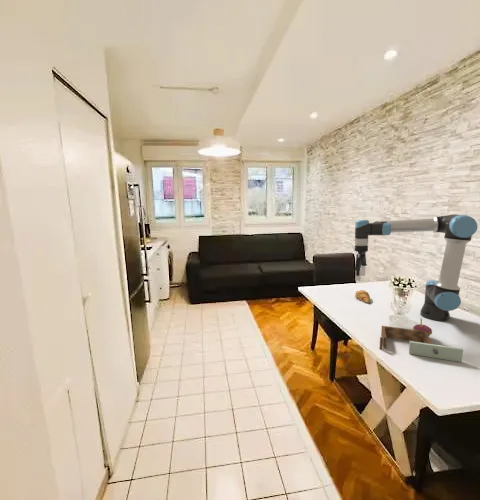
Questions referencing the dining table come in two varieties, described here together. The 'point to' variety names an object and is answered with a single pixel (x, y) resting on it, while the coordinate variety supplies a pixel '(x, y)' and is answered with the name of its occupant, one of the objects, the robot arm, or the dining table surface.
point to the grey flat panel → (436, 351)
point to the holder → (403, 335)
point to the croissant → (363, 296)
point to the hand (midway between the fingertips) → (360, 278)
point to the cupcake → (423, 328)
